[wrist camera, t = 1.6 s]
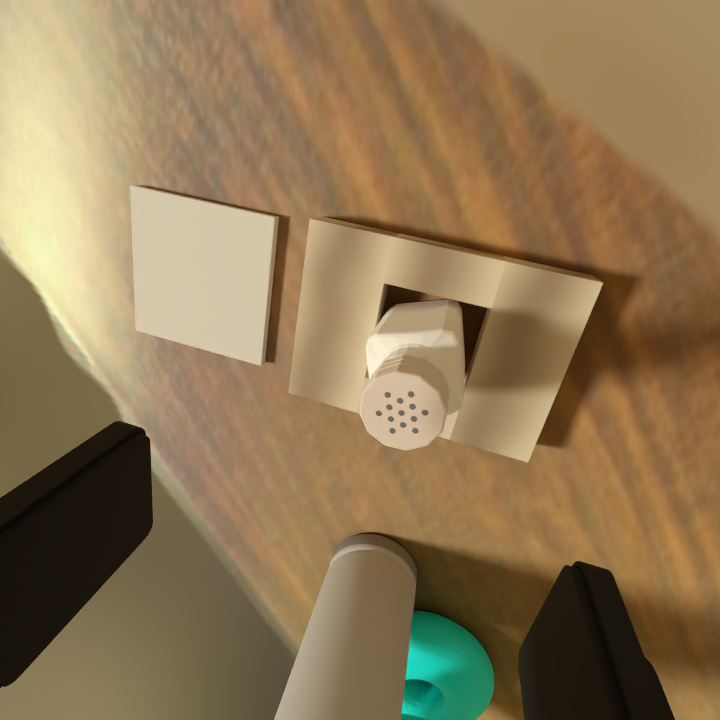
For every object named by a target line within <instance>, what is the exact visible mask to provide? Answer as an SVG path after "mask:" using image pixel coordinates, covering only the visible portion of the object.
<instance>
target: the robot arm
mask: <svg viewBox="0 0 720 720" xmlns="http://www.w3.org/2000/svg"><path fill="white" fill-rule="evenodd" d="M152 524H153V511H152V482H151V452H150V439H149V437H147V436H146V433H145V431H144V429H143V428H141V427H137V426H134V425H131V424H128V423H124V422H121V421H117V422H114V423H112V424H110V425H109V426H107V427H106V428H104V429H103V430H101V431H100V432H99V433H97V434H95V435H94V436H93V437H91V438H90V439H88V440H87V441H85V442H84V443H82V444H81V445H79V446H78V447H76V448H75V449H73V450H72V451H70V452H69V453H67V454H66V455H64V456H63V457H61V458H60V459H58V460H57V461H55V462H54V463H52V464H51V465H49V466H48V467H46V468H45V469H43V470H42V471H40V472H39V473H37V474H36V475H34V476H33V477H31V478H30V479H28V480H27V481H25V482H24V483H22V484H21V485H19V486H18V487H16V488H15V489H13V490H12V491H10V492H9V493H7V494H6V495H4V496H3V497H1V498H0V688H1V687H2V686H3V687H5V686H8V685H10V684H11V683H13V682H14V681H15V680H16V679H17V678H18V677H19V676H20V675H21V674H22V673H23V672H24V671H25V670H26V669H27V668H28V667H29V665H30V664H31V663H32V662H33V661H34V660H35V659H36V658H37V657H38V656H39V655H40V653H41V652H42V651H43V650H44V649H45V648H46V647H47V646H48V645H49V644H50V642H51V641H52V640H53V639H54V638H55V637H56V636H57V635H58V633H60V631H61V630H62V629H63V628H64V627H65V626H66V625H67V624H68V623H69V622H70V620H71V619H72V618H73V617H74V616H75V615H76V614H77V613H78V612H79V610H80V609H81V608H82V607H83V606H84V605H85V604H86V603H87V602H88V601H89V600H90V599H91V597H92V596H93V595H94V594H95V593H96V592H97V591H98V590H99V589H100V588H101V587H102V585H103V584H104V583H105V582H106V581H107V580H108V579H109V578H110V577H111V576H112V574H113V573H114V572H115V571H116V570H117V569H118V568H119V567H120V566H121V564H122V563H123V562H124V561H125V560H126V559H127V558H128V557H129V556H130V554H132V552H133V551H134V550H135V549H136V548H137V547H138V546H139V545H140V544H141V543H142V541H143V540H144V539H145V538H146V537H147V535H148V534H149V532H150V530H151V528H152ZM519 674H520V683H521V691H522V700H523V709H524V718H525V720H675V719H674V716H673V713H672V711H671V708H670V706H669V703H668V701H667V698H666V696H665V693H664V691H663V688H662V686H661V683H660V681H659V678H658V676H657V674H656V672H655V670H654V668H653V666H652V664H651V663H650V662H649V661H648V660H647V659H646V658H645V657H644V654H643V652H642V649H641V647H640V644H639V641H638V639H637V636H636V634H635V631H634V628H633V626H632V623H631V621H630V618H629V615H628V613H627V610H626V608H625V605H624V602H623V600H622V597H621V595H620V592H619V589H618V587H617V584H616V582H615V579H614V577H613V575H612V573H611V572H610V571H609V570H607V569H604V568H600V567H597V566H594V565H591V564H587V563H584V562H581V561H577V562H575V563H574V564H573V566H572V567H571V566H568V565H566V566H564V567H563V569H562V571H561V572H560V574H559V576H558V578H557V580H556V582H555V584H554V586H553V587H552V589H551V591H550V593H549V595H548V597H547V599H546V601H545V602H544V604H543V606H542V608H541V610H540V612H539V614H538V616H537V617H536V619H535V621H534V623H533V625H532V627H531V629H530V631H529V632H528V634H527V636H526V638H525V640H524V642H523V644H522V646H521V648H520V652H519Z"/></svg>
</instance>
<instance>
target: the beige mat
mask: <svg viewBox="0 0 720 720" xmlns="http://www.w3.org/2000/svg"><path fill="white" fill-rule="evenodd" d="M130 193H131V219H132V245H133V270H134V296H135V321H136V331H140V332H143V333H147V334H150V335H154V336H157V337H161V338H164V339H168V340H171V341H175V342H179V343H182V344H186V345H189V346H193V347H196V348H200V349H203V350H207V351H210V352H214V353H218V354H221V355H225V356H228V357H232V358H235V359H239V360H242V361H246V362H249V363H253V364H256V365H260V366H261V365H262V364H264V363H265V359H266V348H267V338H268V328H269V317H270V307H271V297H272V286H273V276H274V266H275V255H276V245H277V235H278V224H279V217H278V216H273V215H269V214H264V213H260V212H255V211H251V210H246V209H242V208H237V207H233V206H228V205H224V204H219V203H215V202H210V201H206V200H201V199H196V198H192V197H187V196H183V195H178V194H174V193H169V192H165V191H160V190H156V189H151V188H147V187H142V186H138V185H130Z"/></svg>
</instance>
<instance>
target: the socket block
mask: <svg viewBox="0 0 720 720" xmlns="http://www.w3.org/2000/svg"><path fill="white" fill-rule="evenodd" d="M389 285H393V286H398V287H402V288H406V289H410V290H414V291H419V292H423V293H427V294H431V295H435V296H440V297H444V298H448V299H452V300H457V301H461V302H465V303H469V304H473V305H478V306H482V307H486V308H487V310H486V313H485V316H484V320H483V323H482V326H481V329H480V332H479V336H478V339H477V342H476V345H475V348H474V351H473V355H472V358H471V361H470V364H469V367H468V371H467V374H466V377H465V380H464V398H463V404H462V406H461V408H460V410H458V411H456V412H455V413H453V414H451V415H447V416H446V419H445V424H444V428H443V432H442V433H441V434H440V435H438V436H439V437H442V438H446V439H449V440H452V441H456V442H459V443H463V444H466V445H470V446H473V447H477V448H480V449H483V450H487V451H490V452H494V453H497V454H501V455H504V456H508V457H511V458H515V459H518V460H521V461H525V462H528V461H529V459H530V456H531V454H532V452H533V449H534V447H535V445H536V442H537V440H538V437H539V435H540V433H541V430H542V428H543V425H544V423H545V421H546V418H547V416H548V414H549V411H550V409H551V406H552V404H553V402H554V399H555V397H556V395H557V392H558V390H559V387H560V385H561V383H562V380H563V378H564V375H565V373H566V371H567V368H568V366H569V364H570V361H571V359H572V356H573V354H574V352H575V349H576V347H577V345H578V342H579V340H580V337H581V335H582V333H583V330H584V328H585V325H586V323H587V321H588V318H589V316H590V314H591V311H592V309H593V306H594V304H595V302H596V299H597V297H598V295H599V292H600V290H601V287H602V285H603V282H601V281H600V280H598V279H597V278H596V277H594V276H593V275H589V274H585V273H580V272H575V271H571V270H566V269H562V268H557V267H552V266H548V265H543V264H539V263H534V262H529V261H525V260H520V259H516V258H511V257H506V256H502V255H497V254H493V253H488V252H483V251H479V250H474V249H470V248H465V247H460V246H456V245H451V244H447V243H442V242H437V241H433V240H428V239H423V238H419V237H414V236H410V235H405V234H400V233H396V232H391V231H387V230H382V229H377V228H373V227H368V226H364V225H359V224H354V223H350V222H345V221H341V220H336V219H331V218H327V217H317V218H311V219H310V222H309V230H308V238H307V246H306V254H305V262H304V270H303V278H302V286H301V294H300V302H299V310H298V318H297V326H296V334H295V342H294V350H293V358H292V366H291V374H290V382H289V390H288V393H290V394H294V395H297V396H301V397H304V398H308V399H311V400H314V401H318V402H321V403H325V404H328V405H332V406H335V407H339V408H342V409H346V410H349V411H352V412H356V413H359V411H360V403H361V395H362V391H363V390H364V388H365V386H366V385H367V383H368V381H369V374H368V366H367V355H366V344H367V341H368V338H369V336H370V334H371V333H372V332H373V330H374V329H375V327H376V326H377V325H378V323H379V322H380V321H381V319H382V316H383V311H384V307H385V302H386V297H387V292H388V288H389ZM359 414H360V413H359Z"/></svg>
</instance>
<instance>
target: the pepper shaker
mask: <svg viewBox="0 0 720 720" xmlns="http://www.w3.org/2000/svg"><path fill="white" fill-rule="evenodd" d="M366 355H367V366H368V374H369V381H368V383H367V385H366V386H365V388H364V390H363V391H362V395H361V403H360V411H359V413H360V415H361V418H362V420H363V422H364V424H365V427H366V429H367V431H368V432H369V433H370V434H371V435H372V436H374V437H375V438H376V439H377V440H379V441H380V442H381V443H382V444H384V445H385V446H389V447H393V448H398V449H402V450H406V451H407V450H411V449H415V448H420V447H424V446H428V445H429V444H430V443H431V442H432V441H433V440H434V439H435V438H436V437H437V436H438V435H440V434H441V433H442V432H443V428H444V424H445V419H446V416H447V415H451V414H453V413H455V412H456V411H458V410H460V408H461V406H462V404H463V398H464V376H465V347H464V332H463V317H462V308H461V307H460V305H459V303H458V302H457V301H454V300H450V299H447V300H435V301H424V302H413V303H402V304H396V305H394V306H392V307H390V308H389V310H388V311H387V312H386V314H385V315H384V316H383V318H382V319H381V321H380V322H379V323H378V325H377V326H376V327H375V329H374V330H373V332H372V333H371V334H370V336H369V338H368V341H367V344H366Z"/></svg>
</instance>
